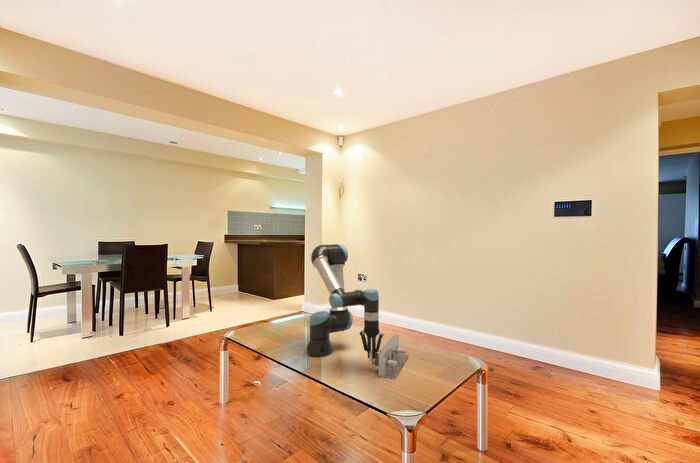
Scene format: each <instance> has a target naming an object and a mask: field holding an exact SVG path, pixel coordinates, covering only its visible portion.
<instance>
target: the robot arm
mask: <svg viewBox="0 0 700 463" xmlns="http://www.w3.org/2000/svg"><path fill="white" fill-rule="evenodd" d="M348 258H349V252H348V248H346V246H345V245H343V244H339V243H337V244H336V243H335V244H319V245H317V246H316V247H315V248H314V249H313V250H312V252H311V256H310V260H311V264H312V266H313V267H314V268H315V269H316V270H317V272H318V273H319V276H320V277H321V279H322V281H323V284H324V285H325V287H326V289H327V291H328V293H329V297H328V302H329V305H330V307H331V308H330V309H329V311H327V310H322V311H317V312H314V313H312V314H311V315H310V316H309V322H308V323H309V341H308V344H307V348H306V354H307V353H308V354H309V355H308V354H307V355H308V356H310V355H312V356H311V357H314V356H323V357H327V356H329V354H330V355H331V354H332V353H333V347H332V344H331V340H330V334H334V333H338V332H345V331H348V330H350V329H351V327H352V325H353V322H354V321H353V314H352V312H351V311H350V310H349V307H353V306H362V307H364V313H363V314H364V316H363V318H364V320H363V321H364V322H363V323H364V324H363V326H364V328H363V330H361V331H360V332H359V335H360V336H361V338H360V339H361V341H362V345H363V350H364V351H365V352H367V358H368V359H369V362H368V363H369V365H368V366H374V365H375V352H378V351H380V349H381V348H380V347H381V343H382V339H383V337H384V335H385V334H384V333H382V332H381V331H380V328H379V326H380V325H379V324H380V323H379V322H380V321H379V319H380V318H379V317H380V316H379V314H380V313H379V307H380V306H379V304H380V302H379V300H380V295H379V290H378V289H374V288H367V289H364V290H362V289H355V290H352V291H347V292H346V291H345V281H344V280H345V279H344V267H345V265H346V263H347V261H348ZM377 337H378V338H377ZM376 340H377V342H376ZM326 355H327V356H326Z"/></svg>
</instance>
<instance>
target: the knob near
mask: <svg viewBox="0 0 700 463" xmlns="http://www.w3.org/2000/svg"><path fill="white" fill-rule="evenodd" d="M387 365H390V366H396V367H397V361H393V360H387ZM374 366H375V367H379V356H377V355H376V357H375V359H374Z"/></svg>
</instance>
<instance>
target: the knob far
mask: <svg viewBox="0 0 700 463" xmlns="http://www.w3.org/2000/svg"><path fill="white" fill-rule="evenodd" d="M406 352H407V349H406V348H400V347H399V348H396V353H399V354H404V355H406Z"/></svg>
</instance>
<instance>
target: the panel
mask: <svg viewBox="0 0 700 463" xmlns="http://www.w3.org/2000/svg"><path fill="white" fill-rule="evenodd" d="M396 348H400V334H394V333H393V335H392V336H391V337H390V338H389V339H388V341H387V342H386V343H385V344H384V345H383V346H382V348H380V349H379V366H378V377H381V378H388V379H393V380H396V379H397V378H398V376H399V375H400V372H401V370H402V369H403V367H404V366H405V365H406V364H405V363H406V362H407V360H408V359H409V354H401V353H396ZM387 360H393V361H397V367H396V366H390V365H387Z"/></svg>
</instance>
